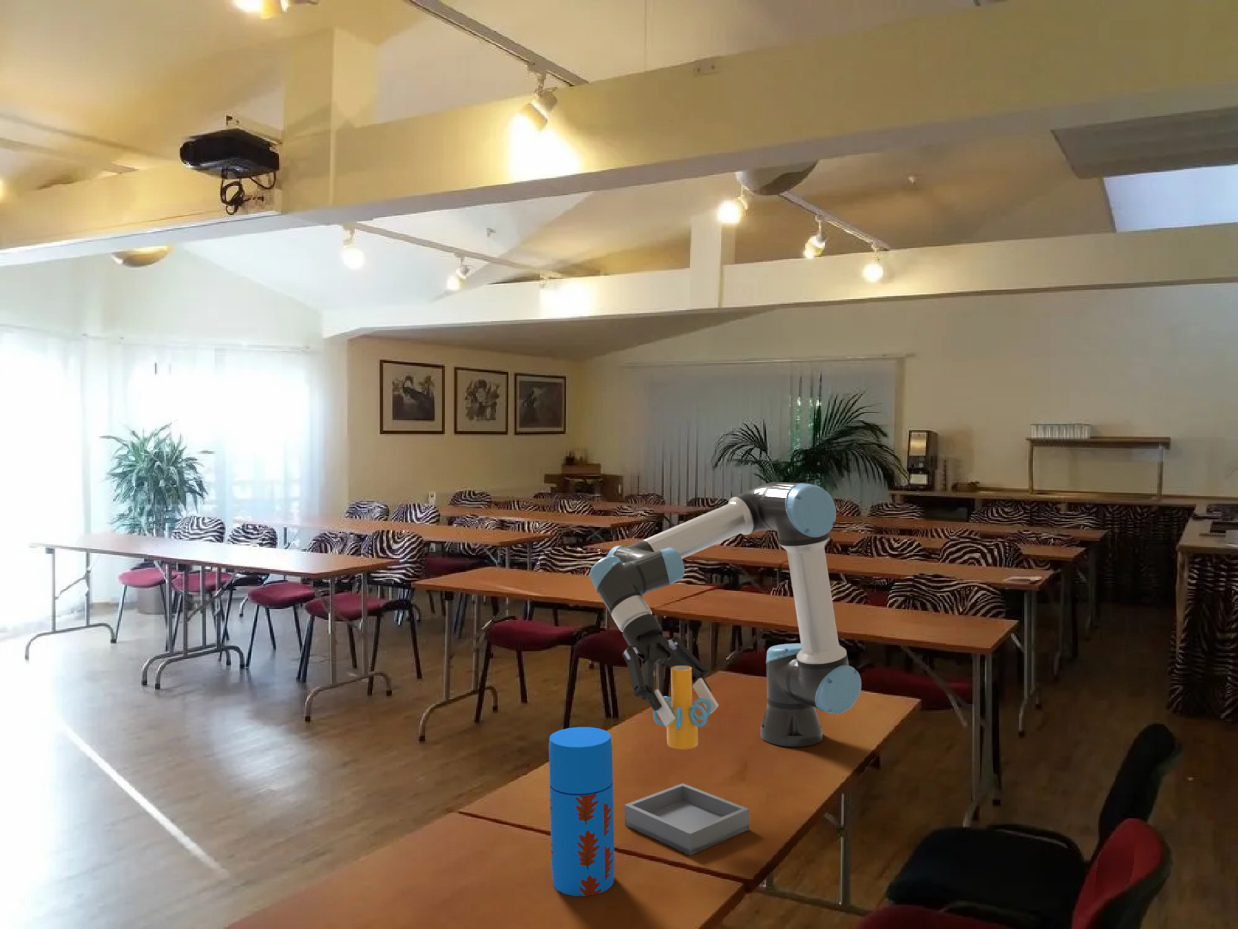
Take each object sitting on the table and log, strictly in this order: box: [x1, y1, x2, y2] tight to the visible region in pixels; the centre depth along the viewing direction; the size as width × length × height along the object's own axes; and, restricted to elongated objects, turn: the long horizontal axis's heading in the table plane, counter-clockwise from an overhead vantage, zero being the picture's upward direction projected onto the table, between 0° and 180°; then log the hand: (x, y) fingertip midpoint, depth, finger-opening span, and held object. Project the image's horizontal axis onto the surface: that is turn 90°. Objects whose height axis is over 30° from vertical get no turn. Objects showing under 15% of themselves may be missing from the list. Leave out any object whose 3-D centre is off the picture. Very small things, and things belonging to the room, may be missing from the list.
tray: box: [623, 782, 750, 856], centre depth 178 cm, size 16×18×4 cm
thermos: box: [548, 726, 615, 897], centre depth 157 cm, size 11×11×25 cm
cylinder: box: [652, 665, 711, 751], centre depth 178 cm, size 12×10×15 cm
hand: (692, 716), depth 176 cm, fingers closed on cylinder, 11 cm apart
